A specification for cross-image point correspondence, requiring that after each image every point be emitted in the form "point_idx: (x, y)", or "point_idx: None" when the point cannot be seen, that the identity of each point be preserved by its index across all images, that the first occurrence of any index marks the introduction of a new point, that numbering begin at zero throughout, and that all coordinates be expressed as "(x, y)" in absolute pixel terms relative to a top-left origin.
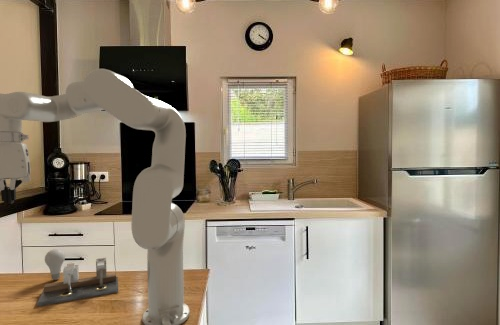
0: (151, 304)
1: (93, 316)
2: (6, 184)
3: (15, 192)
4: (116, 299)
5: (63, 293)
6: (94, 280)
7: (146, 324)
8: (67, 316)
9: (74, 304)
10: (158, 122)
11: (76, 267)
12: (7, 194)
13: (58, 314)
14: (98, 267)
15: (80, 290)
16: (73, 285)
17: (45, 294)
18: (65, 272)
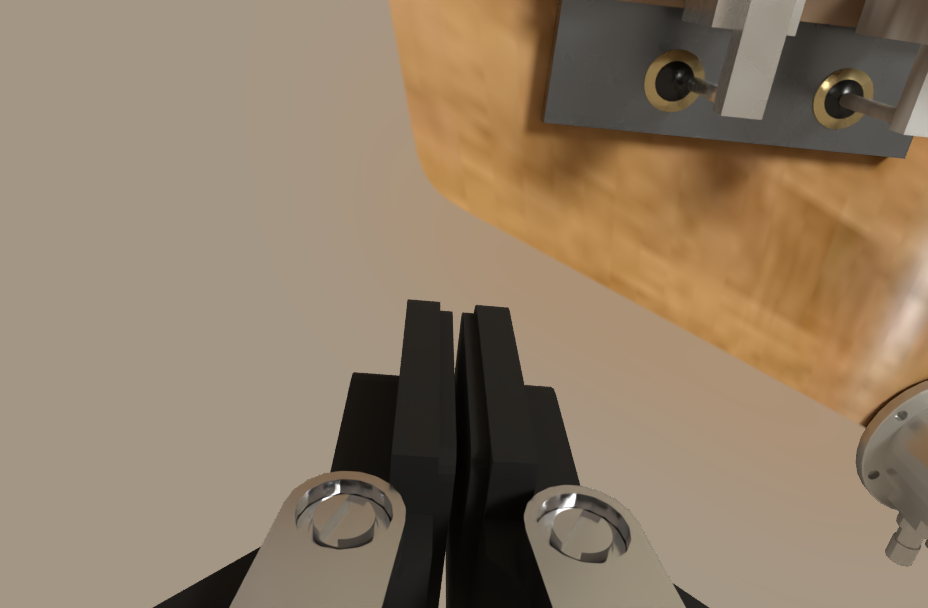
0: (919, 510)
1: (733, 324)
2: (389, 601)
3: (570, 484)
4: (855, 226)
5: (663, 79)
6: (841, 25)
7: (859, 471)
8: (649, 277)
9: (689, 182)
10: None
11: (796, 9)
12: (446, 573)
13: (619, 243)
14: (902, 133)
15: None
16: None
17: (579, 33)
18: (718, 114)
